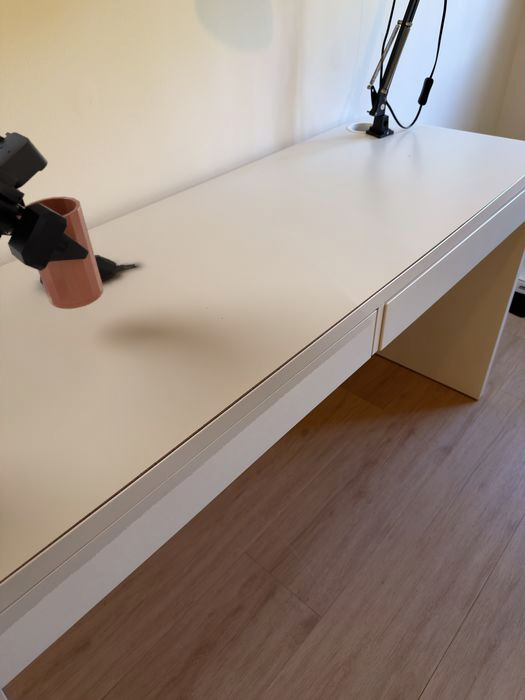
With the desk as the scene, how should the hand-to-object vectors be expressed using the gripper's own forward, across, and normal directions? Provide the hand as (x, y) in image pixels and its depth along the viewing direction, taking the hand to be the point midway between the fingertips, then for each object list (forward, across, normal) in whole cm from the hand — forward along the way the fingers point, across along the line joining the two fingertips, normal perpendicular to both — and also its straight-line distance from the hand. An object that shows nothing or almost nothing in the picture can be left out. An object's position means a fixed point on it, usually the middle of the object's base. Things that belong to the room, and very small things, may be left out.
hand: (72, 245), depth 66 cm
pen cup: (+4, 0, +6) cm, 7 cm away
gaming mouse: (+13, +13, +5) cm, 19 cm away
